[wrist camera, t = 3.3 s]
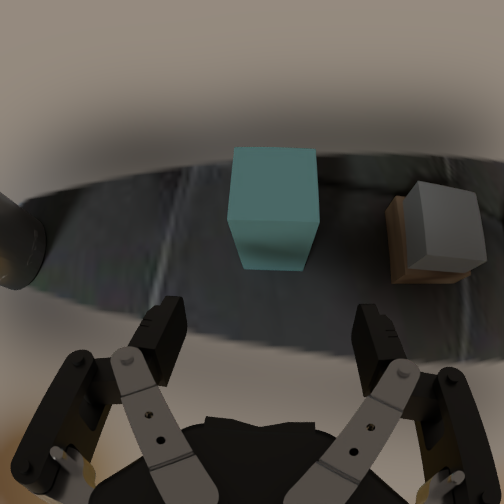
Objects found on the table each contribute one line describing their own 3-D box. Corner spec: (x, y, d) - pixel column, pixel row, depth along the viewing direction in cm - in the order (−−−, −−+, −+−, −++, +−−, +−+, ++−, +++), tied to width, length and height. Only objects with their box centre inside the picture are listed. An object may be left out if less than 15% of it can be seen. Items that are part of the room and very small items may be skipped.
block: (243, 269, 26) (227, 219, 16) (247, 215, 27) (234, 147, 18) (302, 270, 25) (319, 222, 16) (302, 217, 27) (315, 148, 18)
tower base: (390, 284, 25) (405, 274, 22) (383, 213, 27) (395, 195, 24) (451, 284, 24) (470, 274, 21) (442, 217, 26) (458, 202, 23)
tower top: (407, 268, 22) (426, 254, 18) (402, 201, 24) (417, 180, 20) (464, 273, 21) (487, 261, 18) (456, 210, 23) (475, 192, 20)
